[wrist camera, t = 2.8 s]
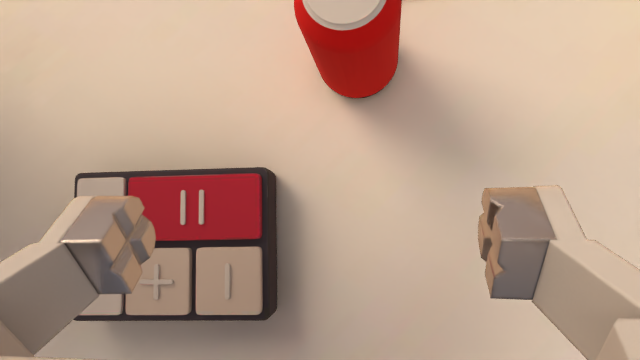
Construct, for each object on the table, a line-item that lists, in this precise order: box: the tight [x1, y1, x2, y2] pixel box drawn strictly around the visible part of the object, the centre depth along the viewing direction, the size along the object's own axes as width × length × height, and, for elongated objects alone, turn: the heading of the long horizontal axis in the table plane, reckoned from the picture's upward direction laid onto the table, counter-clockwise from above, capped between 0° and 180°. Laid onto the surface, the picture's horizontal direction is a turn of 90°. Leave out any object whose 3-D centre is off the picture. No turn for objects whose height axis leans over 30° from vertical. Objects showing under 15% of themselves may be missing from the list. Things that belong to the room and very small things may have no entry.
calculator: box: [73, 167, 277, 321], centre depth 35 cm, size 11×4×15 cm
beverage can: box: [294, 0, 401, 98], centre depth 30 cm, size 6×6×12 cm
